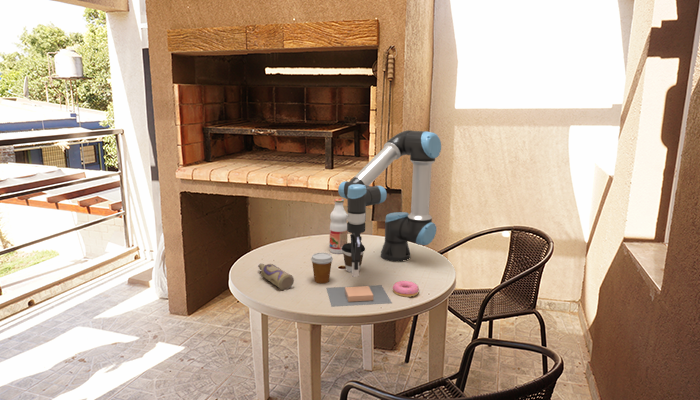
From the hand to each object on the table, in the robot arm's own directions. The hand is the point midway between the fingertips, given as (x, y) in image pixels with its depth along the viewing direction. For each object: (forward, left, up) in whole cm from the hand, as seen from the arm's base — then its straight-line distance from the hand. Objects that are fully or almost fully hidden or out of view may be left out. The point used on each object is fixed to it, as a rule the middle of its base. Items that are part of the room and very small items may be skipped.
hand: (355, 275), depth 190 cm
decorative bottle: (+33, -13, -6) cm, 36 cm away
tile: (0, +6, -4) cm, 7 cm away
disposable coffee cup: (+13, -8, -6) cm, 17 cm away
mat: (0, +9, -6) cm, 10 cm away
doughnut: (-20, +7, -6) cm, 22 cm away
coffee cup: (-3, -20, -6) cm, 21 cm away
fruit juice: (0, -48, -6) cm, 49 cm away
